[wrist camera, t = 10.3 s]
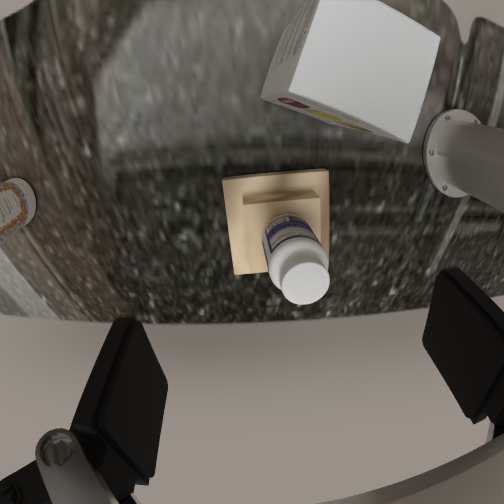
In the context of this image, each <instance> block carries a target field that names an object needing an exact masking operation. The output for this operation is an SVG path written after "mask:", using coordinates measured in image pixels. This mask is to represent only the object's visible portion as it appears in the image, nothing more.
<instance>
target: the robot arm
mask: <svg viewBox="0 0 504 504" xmlns="http://www.w3.org/2000/svg"><path fill="white" fill-rule="evenodd" d="M423 158H424V165H425V170H426V173H427V175H428V178H429V179H430V181H431V183H432V184H433V186H434V187H435V188H436V189H437V190H439V191H440V192H441V193H443V194H445V195H447V196H449V197H454V198H459V197H464V196H467V195H468V194H469V195H471V196H473V197H475V198H477V199H479V200H480V201H482V202H484V203H486V204H488V205H490V206H491V207H493V208H495V209H497V210H498V211H500V212H502V213H504V129H500V128H496V127H492V126H487V125H482V124H481V122H480V121H479V120H478V119H477V118H476V117H475V116H474V115H473V114H471V113H470V112H468V111H465V110H462V109H449V110H446V111H444V112H442V113H441V114H439V115H438V116H437V117H436V118H435V119H434V120H433V121H432V123H431V125H430V127H429V128H428V131H427V134H426V136H425V141H424V148H423ZM422 342H423V346H424V348H425V349H426V351H427V353H428V354H429V356H430V357H431V359H432V360H433V362H434V364H435V365H436V367H437V368H438V370H439V372H440V373H441V375H442V377H443V378H444V380H445V382H446V383H447V385H448V386H449V388H450V390H451V392H452V393H453V395H454V397H455V399H456V400H457V402H458V404H459V405H460V407H461V409H462V411H463V413H464V414H465V416H466V417H467V418H470V419H471V421H472V423H473V424H476V423H478V422H480V421H482V420H484V419H485V418H486V417H487V416H488V417H489V419H490V424H489V430H488V435H487V440H486V444H484V445H482V446H481V447H478V448H477V449H475V450H473V451H471V452H469V453H467V454H465V455H463V456H461V457H459V458H457V459H455V460H453V461H450V462H448V463H446V464H444V465H441V466H439V467H437V468H434V469H432V470H430V471H427V472H425V473H422V474H420V475H417V476H414V477H412V478H409V479H406V480H403V481H401V482H398V483H395V484H392V485H389V486H386V487H383V488H379V489H376V490H373V491H369V492H366V493H362V494H358V495H354V496H351V497H346V498H342V499H338V500H333V501H329V502H324V503H318V504H504V312H503V311H502V310H501V309H500V308H499V307H498V306H497V305H496V304H495V302H493V301H492V299H491V298H490V297H489V296H488V295H487V294H486V293H484V292H483V291H482V290H481V289H480V288H479V287H478V286H477V285H476V284H475V283H474V282H473V281H472V280H471V279H470V278H469V277H468V276H467V275H466V274H465V273H463V272H462V271H461V270H460V269H459V268H458V267H452V268H448V269H443V270H441V271H440V273H439V275H438V276H437V277H436V280H435V285H434V290H433V295H432V300H431V304H430V309H429V313H428V318H427V322H426V326H425V330H424V333H423V338H422ZM167 391H168V383H167V379H166V377H165V375H164V373H163V370H162V368H161V366H160V364H159V362H158V360H157V357H156V355H155V353H154V351H153V349H152V346H151V344H150V342H149V339H148V337H147V335H146V332H145V330H144V327H143V325H142V323H141V322H140V321H136V319H135V318H134V317H126V318H116V319H115V320H114V322H113V324H112V326H111V328H110V330H109V333H108V335H107V337H106V339H105V342H104V344H103V346H102V348H101V351H100V353H99V355H98V357H97V360H96V362H95V365H94V367H93V369H92V372H91V374H90V377H89V379H88V381H87V384H86V387H85V389H84V392H83V394H82V397H81V399H80V402H79V404H78V407H77V410H76V412H75V415H74V418H73V420H72V423H71V427H70V430H66V429H63V428H58V429H53V430H50V431H48V432H47V433H46V434H44V435H43V436H42V438H41V439H40V440H39V441H38V444H37V446H36V450H35V456H36V460H35V461H33V462H31V463H30V464H28V465H26V466H25V467H23V468H21V469H20V470H18V471H16V472H14V473H13V474H11V475H9V476H7V477H6V478H4V479H2V480H1V481H0V504H141V503H140V502H139V500H138V499H137V498H136V496H135V495H134V493H133V492H134V486H135V484H138V485H149V478H152V477H153V476H154V474H155V468H156V461H157V454H158V447H159V439H160V433H161V427H162V421H163V415H164V409H165V403H166V397H167Z"/></svg>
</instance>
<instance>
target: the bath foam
mask: <svg viewBox="0 0 504 504" xmlns="http://www.w3.org/2000/svg"><path fill="white" fill-rule="evenodd" d="M35 211H36V199H35V195H34V192H33V190H32V188H31V186H30V185H29V184H28V183H27V182H26V181H25V180H23V179H20V178H12V179H10V180H8V181H5V182H3V183H1V184H0V244H2V243H3V242H4V241H5V240H7V239H8V238H9V237H10V236H12V235H13V234H14V233H16V232H17V231H18V230H20V229H21V228H22V227H23V226H25V225H26V224H27V223H29V222H30V221H31V220H32V218H33V216H34V214H35Z"/></svg>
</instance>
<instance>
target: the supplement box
mask: <svg viewBox="0 0 504 504" xmlns="http://www.w3.org/2000/svg"><path fill="white" fill-rule="evenodd" d="M439 42H440V37H439V36H438V35H436V34H435V33H433V32H432V31H430V30H428V29H427V28H425V27H424V26H422V25H420V24H419V23H417V22H416V21H414V20H412V19H410V18H409V17H407V16H405V15H404V14H402V13H400V12H398V11H397V10H395V9H393V8H391V7H390V6H388V5H386V4H384V3H382V2H380V1H378V0H307V2H306V3H305V4H304V5H303V7H302V8H301V9H300V10H299V11H298V13H297V14H296V15H295V17H294V18H293V19H292V21H291V22H290V23H289V24H288V26H287V27H286V28H285V30H284V31H283V33H282V35H281V38H280V40H279V43H278V45H277V48H276V51H275V53H274V56H273V59H272V62H271V65H270V68H269V70H268V74H267V77H266V80H265V83H264V86H263V89H262V93H261V97H260V99H262V100H265V101H268V102H271V103H274V104H277V105H280V106H282V107H285V108H288V109H291V110H294V111H296V112H299V113H302V114H305V115H308V116H310V117H313V118H316V119H318V120H321V121H324V122H326V123H329V124H332V125H336V126H341V127H346V128H350V129H355V130H359V131H363V132H367V133H371V134H375V135H379V136H383V137H386V138H390V139H394V140H397V141H401V142H404V143H409V142H410V140H411V137H412V135H413V132H414V129H415V126H416V123H417V120H418V117H419V114H420V111H421V107H422V104H423V101H424V98H425V94H426V91H427V88H428V84H429V81H430V77H431V74H432V70H433V67H434V63H435V59H436V55H437V51H438V47H439Z"/></svg>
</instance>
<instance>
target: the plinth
mask: <svg viewBox="0 0 504 504" xmlns="http://www.w3.org/2000/svg"><path fill="white" fill-rule="evenodd" d="M222 183H223V191H224V199H225V207H226V215H227V222H228V230H229V238H230V245H231V252H232V260H233V267H234V274H235V275H240V274H249V273H260V272H269V271H268V267H267V262H266V258H265V254H264V250H263V245H262V234H263V231H264V228H265V227H266V225H267V224H268V223H269V222H270V221H271V220H272V219H273V218H275V217H277V216H280V215H283V214H293V215H296V216H299V217H301V218H302V219H304V220H305V221H306V222H307V223H308V225H309V226H310V228H311V229H312V231H313V232H314V234H315V236H316V237H317V239H318V240H319V242H320V243H321V245H322V247H323V248H324V250H325V252H326V254H327V257H328V264H329V171H328V170H326V169H310V170H296V171H283V172H272V173H261V174H251V175H241V176H232V177H223V178H222Z"/></svg>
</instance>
